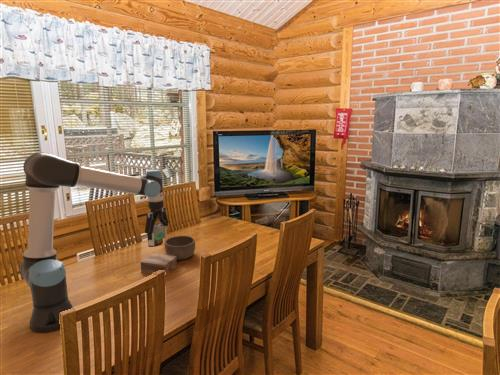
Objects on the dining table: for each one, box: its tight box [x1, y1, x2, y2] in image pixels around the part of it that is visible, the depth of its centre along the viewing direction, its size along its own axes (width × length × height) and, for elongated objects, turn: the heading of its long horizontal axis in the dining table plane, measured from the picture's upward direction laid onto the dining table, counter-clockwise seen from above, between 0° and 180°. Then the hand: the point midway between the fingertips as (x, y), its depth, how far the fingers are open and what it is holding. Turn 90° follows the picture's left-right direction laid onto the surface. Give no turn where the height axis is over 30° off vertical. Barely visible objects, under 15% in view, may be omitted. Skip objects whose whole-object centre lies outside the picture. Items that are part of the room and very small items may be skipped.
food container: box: [146, 221, 164, 248], centre depth 173 cm, size 12×6×10 cm, turn 168°
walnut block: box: [140, 252, 178, 276], centre depth 176 cm, size 12×14×6 cm
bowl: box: [164, 235, 196, 261], centre depth 193 cm, size 17×18×10 cm
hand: (158, 241), depth 173 cm, fingers closed on food container, 11 cm apart
